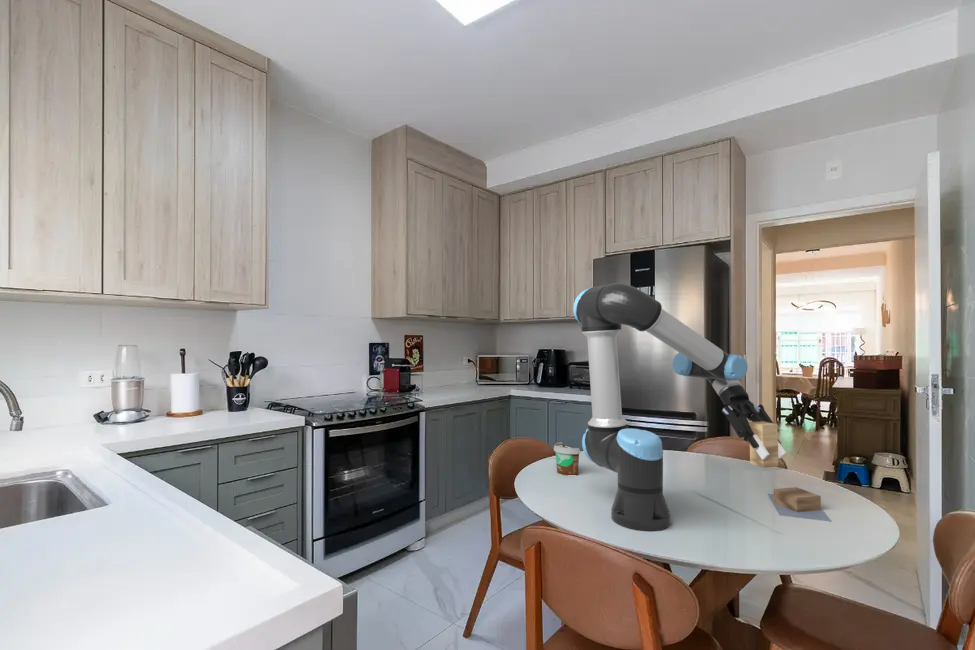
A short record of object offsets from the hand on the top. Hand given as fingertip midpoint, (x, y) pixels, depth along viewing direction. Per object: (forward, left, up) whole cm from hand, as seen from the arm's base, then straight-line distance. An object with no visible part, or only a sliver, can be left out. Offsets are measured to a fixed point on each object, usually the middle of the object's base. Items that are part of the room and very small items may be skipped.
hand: (774, 456), depth 132 cm
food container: (+17, +64, -16) cm, 69 cm away
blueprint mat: (+7, -7, -16) cm, 19 cm away
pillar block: (+3, +2, -3) cm, 5 cm away
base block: (+7, -7, -15) cm, 18 cm away
